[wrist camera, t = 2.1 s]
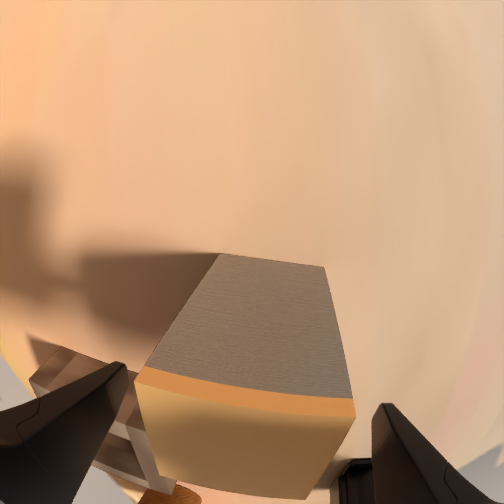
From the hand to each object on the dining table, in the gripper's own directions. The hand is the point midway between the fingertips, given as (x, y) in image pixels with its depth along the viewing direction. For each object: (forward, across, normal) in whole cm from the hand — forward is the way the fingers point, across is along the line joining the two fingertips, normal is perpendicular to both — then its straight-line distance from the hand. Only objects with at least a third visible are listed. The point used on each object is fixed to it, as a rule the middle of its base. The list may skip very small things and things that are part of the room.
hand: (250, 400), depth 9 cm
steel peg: (+6, 0, 0) cm, 6 cm away
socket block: (+6, +10, +12) cm, 17 cm away
